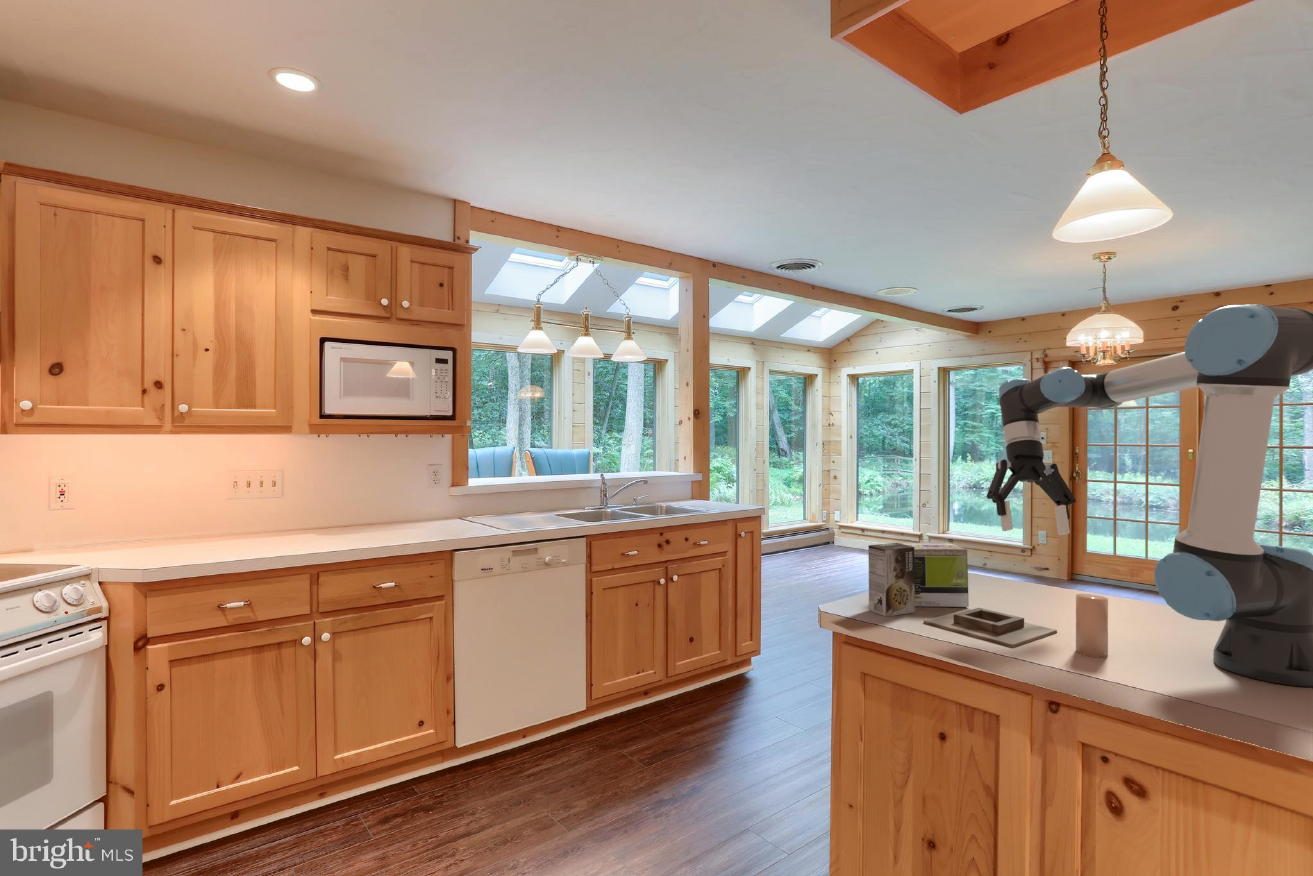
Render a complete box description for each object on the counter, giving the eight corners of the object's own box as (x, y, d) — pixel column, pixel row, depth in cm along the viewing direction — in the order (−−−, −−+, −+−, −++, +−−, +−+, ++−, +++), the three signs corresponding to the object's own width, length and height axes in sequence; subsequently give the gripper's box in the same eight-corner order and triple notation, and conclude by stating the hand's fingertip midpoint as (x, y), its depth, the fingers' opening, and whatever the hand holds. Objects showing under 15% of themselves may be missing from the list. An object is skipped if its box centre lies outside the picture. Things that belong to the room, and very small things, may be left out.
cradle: (1056, 632, 136) (1056, 620, 136) (1012, 647, 126) (1012, 634, 126) (968, 611, 153) (968, 600, 153) (923, 623, 143) (923, 611, 143)
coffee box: (896, 606, 157) (896, 542, 157) (915, 613, 151) (916, 546, 151) (867, 610, 154) (867, 544, 154) (885, 617, 148) (885, 548, 148)
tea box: (954, 598, 166) (954, 542, 166) (969, 608, 156) (969, 549, 156) (895, 597, 167) (895, 541, 167) (906, 607, 157) (906, 548, 157)
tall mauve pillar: (1112, 654, 123) (1112, 598, 123) (1100, 659, 120) (1100, 601, 120) (1083, 646, 127) (1083, 592, 127) (1070, 651, 124) (1070, 596, 124)
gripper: (1061, 451, 154) (1075, 538, 147) (964, 443, 152) (974, 531, 145) (1084, 442, 147) (1100, 533, 140) (983, 434, 145) (994, 525, 138)
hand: (1036, 532), depth 142 cm, fingers open, 13 cm apart
